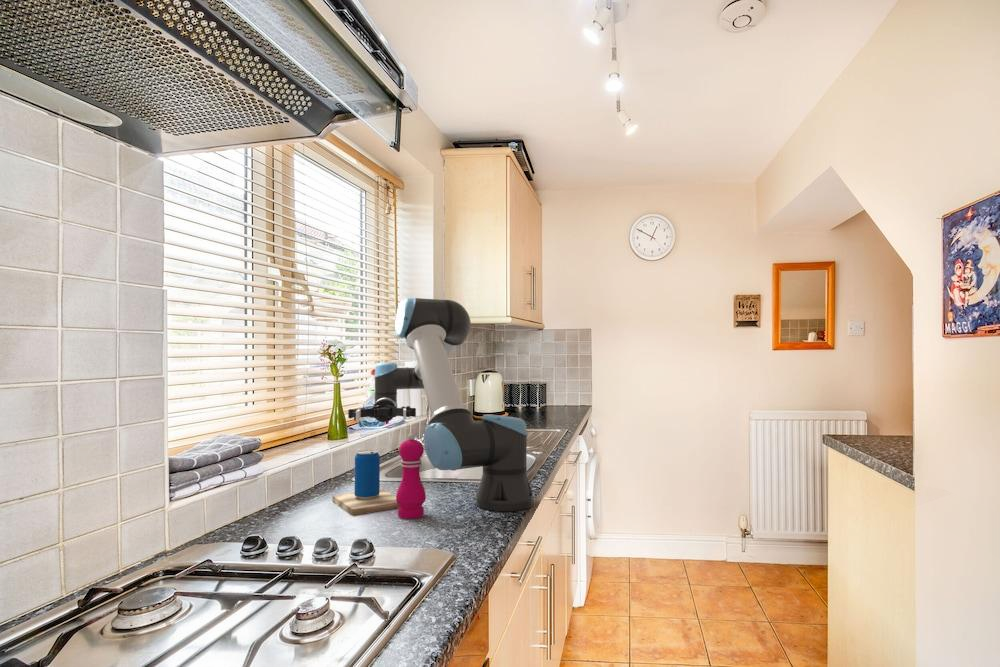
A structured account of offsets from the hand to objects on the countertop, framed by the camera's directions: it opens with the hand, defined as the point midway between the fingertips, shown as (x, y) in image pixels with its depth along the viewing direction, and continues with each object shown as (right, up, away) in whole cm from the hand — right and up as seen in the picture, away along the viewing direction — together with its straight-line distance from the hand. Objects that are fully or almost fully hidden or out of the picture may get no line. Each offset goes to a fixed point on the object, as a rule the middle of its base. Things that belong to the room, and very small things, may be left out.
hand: (381, 415), depth 163 cm
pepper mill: (+13, -21, -26) cm, 36 cm away
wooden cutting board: (0, -21, -16) cm, 26 cm away
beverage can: (-1, -20, -15) cm, 25 cm away
